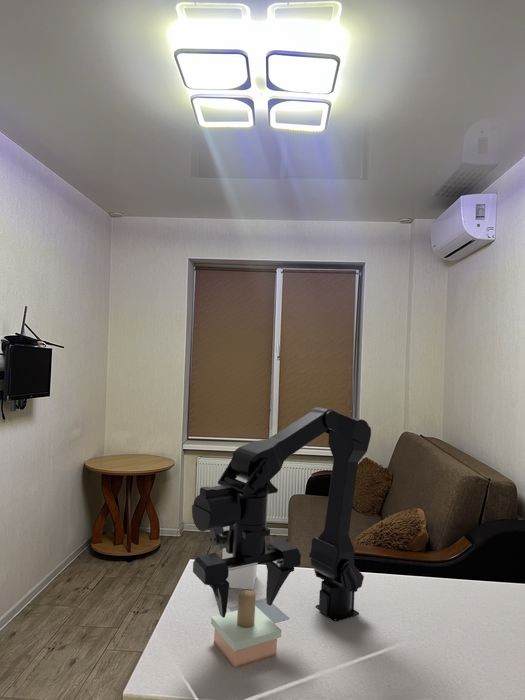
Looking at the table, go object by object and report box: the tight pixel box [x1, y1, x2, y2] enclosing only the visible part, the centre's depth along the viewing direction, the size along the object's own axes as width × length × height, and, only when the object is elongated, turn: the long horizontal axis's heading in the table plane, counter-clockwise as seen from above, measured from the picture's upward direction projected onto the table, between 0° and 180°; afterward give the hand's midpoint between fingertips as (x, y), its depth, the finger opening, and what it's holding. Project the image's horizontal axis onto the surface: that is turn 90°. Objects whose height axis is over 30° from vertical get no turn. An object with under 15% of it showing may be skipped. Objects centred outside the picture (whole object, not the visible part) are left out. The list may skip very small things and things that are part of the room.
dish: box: [213, 628, 278, 669], centre depth 84 cm, size 8×8×4 cm
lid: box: [210, 589, 282, 651], centre depth 84 cm, size 9×9×6 cm
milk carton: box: [221, 526, 258, 591], centre depth 110 cm, size 7×7×19 cm
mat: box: [227, 597, 291, 624], centre depth 96 cm, size 9×9×1 cm
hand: (246, 610), depth 84 cm, fingers open, 9 cm apart
